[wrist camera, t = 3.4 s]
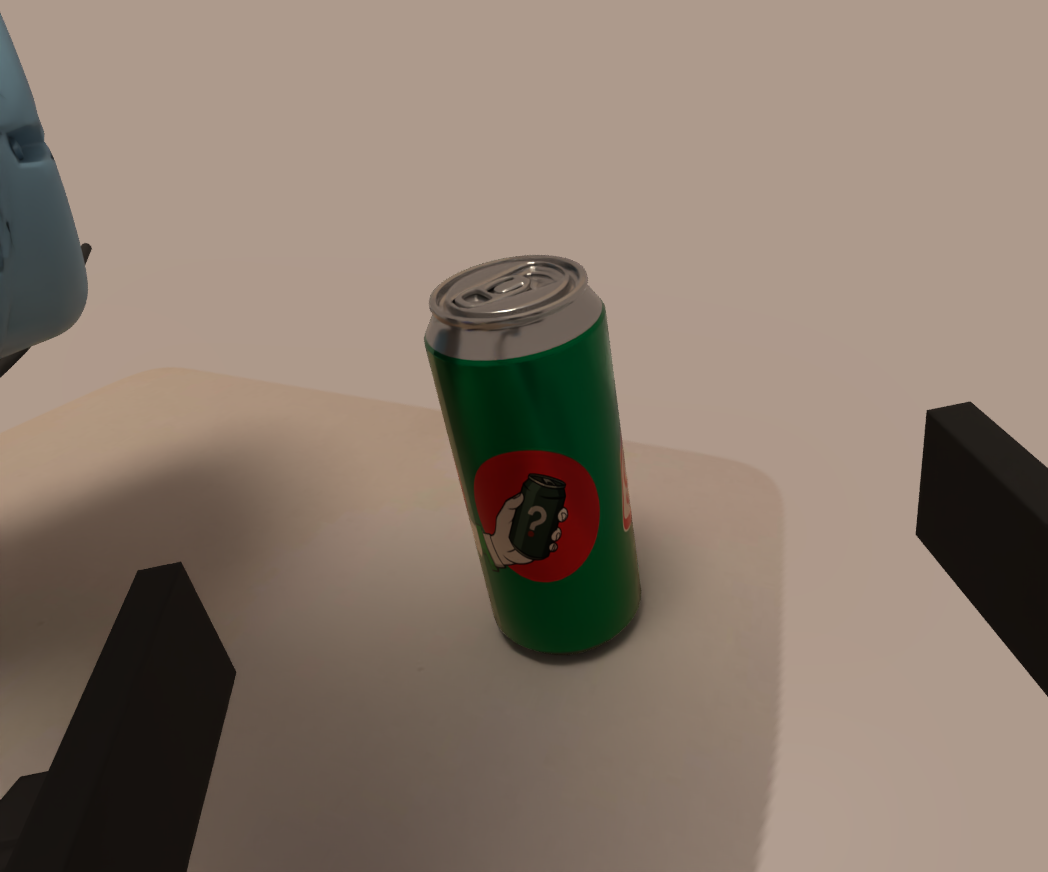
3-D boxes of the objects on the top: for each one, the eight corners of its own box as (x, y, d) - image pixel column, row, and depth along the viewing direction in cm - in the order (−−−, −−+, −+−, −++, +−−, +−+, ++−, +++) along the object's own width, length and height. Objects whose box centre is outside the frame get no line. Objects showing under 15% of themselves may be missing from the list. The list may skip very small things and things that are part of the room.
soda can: (674, 615, 28) (639, 276, 22) (546, 692, 26) (468, 346, 20) (587, 541, 32) (536, 236, 26) (471, 604, 30) (385, 292, 24)
